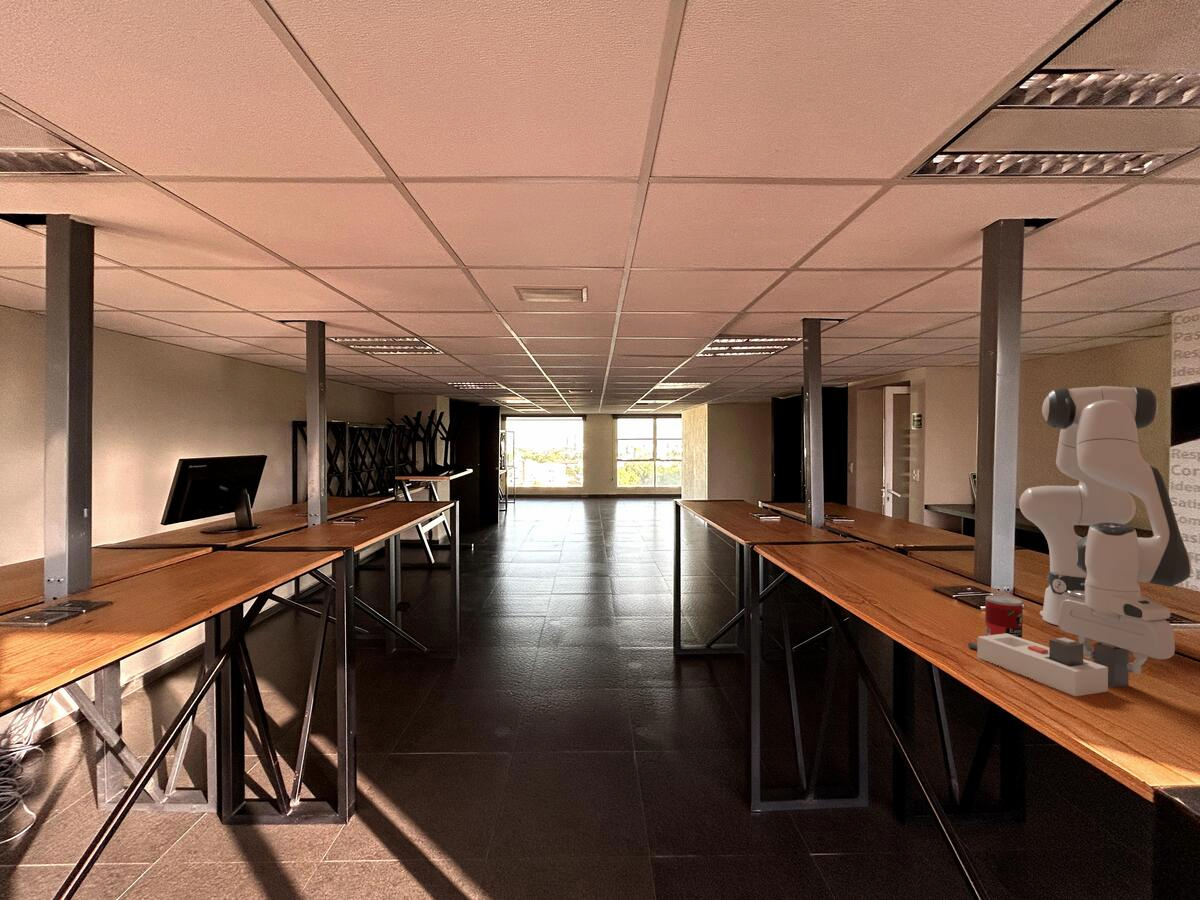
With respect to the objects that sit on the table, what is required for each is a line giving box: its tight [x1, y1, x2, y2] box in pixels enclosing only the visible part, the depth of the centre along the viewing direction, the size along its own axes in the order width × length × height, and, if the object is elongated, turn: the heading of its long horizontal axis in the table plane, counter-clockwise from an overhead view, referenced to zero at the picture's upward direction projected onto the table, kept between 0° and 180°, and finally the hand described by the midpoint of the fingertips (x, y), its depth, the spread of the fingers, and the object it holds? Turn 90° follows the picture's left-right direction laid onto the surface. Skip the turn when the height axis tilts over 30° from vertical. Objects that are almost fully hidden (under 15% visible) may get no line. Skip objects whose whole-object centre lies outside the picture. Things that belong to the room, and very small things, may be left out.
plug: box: [1093, 641, 1130, 689], centre depth 123 cm, size 4×4×8 cm
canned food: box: [984, 594, 1024, 639], centre depth 148 cm, size 8×8×11 cm
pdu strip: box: [967, 633, 1109, 697], centre depth 131 cm, size 9×28×9 cm, turn 15°
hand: (1111, 665), depth 123 cm, fingers open, 7 cm apart
